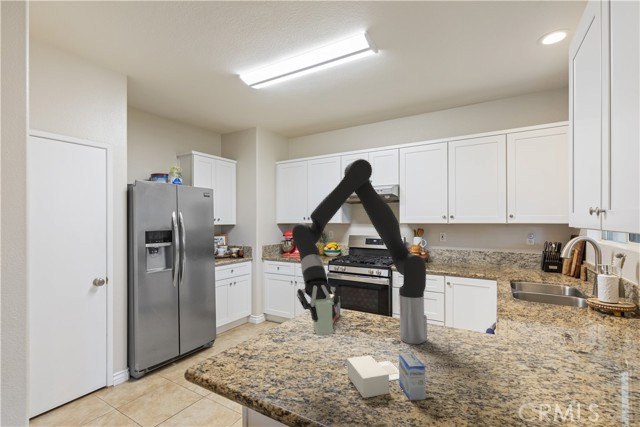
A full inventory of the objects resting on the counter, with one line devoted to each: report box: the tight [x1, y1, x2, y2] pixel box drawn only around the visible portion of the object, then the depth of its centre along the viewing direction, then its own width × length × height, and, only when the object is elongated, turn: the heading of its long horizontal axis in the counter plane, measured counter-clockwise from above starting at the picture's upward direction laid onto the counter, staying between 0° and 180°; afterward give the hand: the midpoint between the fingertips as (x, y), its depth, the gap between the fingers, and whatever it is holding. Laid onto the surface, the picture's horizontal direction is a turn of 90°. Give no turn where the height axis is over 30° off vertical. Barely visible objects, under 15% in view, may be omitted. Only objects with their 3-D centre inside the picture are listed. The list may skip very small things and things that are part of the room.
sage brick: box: [313, 299, 334, 336], centre depth 88 cm, size 4×4×9 cm
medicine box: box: [398, 352, 427, 401], centre depth 80 cm, size 8×4×9 cm, turn 5°
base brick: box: [346, 354, 390, 399], centre depth 84 cm, size 8×12×5 cm, turn 15°
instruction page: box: [376, 360, 399, 382], centre depth 91 cm, size 8×11×1 cm
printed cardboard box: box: [329, 293, 341, 324], centre depth 139 cm, size 21×6×12 cm, turn 161°
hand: (324, 319), depth 86 cm, fingers closed on sage brick, 4 cm apart
